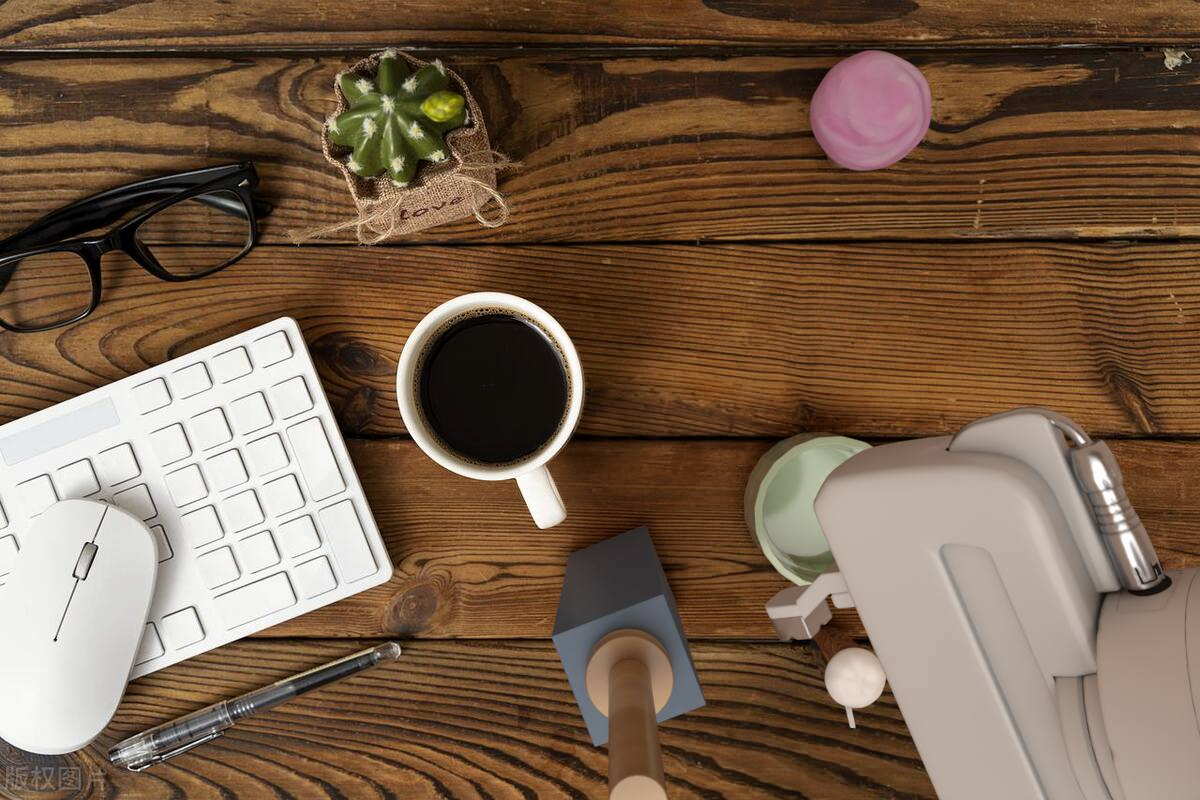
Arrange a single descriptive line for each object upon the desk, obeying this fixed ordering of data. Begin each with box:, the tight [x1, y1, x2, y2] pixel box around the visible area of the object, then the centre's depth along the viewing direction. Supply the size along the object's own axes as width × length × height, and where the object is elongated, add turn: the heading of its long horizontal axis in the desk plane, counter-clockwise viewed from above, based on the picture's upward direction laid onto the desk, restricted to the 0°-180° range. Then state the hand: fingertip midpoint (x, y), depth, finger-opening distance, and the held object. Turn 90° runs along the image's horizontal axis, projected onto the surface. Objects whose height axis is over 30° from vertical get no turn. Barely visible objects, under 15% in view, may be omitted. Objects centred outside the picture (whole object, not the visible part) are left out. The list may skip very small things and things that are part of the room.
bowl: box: [743, 431, 873, 586], centre depth 69 cm, size 12×12×6 cm
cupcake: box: [809, 49, 932, 172], centre depth 67 cm, size 9×9×10 cm
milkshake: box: [808, 625, 887, 729], centre depth 68 cm, size 5×5×10 cm
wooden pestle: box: [585, 629, 674, 800], centre depth 42 cm, size 5×5×16 cm
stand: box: [551, 524, 707, 748], centre depth 61 cm, size 7×7×23 cm
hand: (825, 721), depth 34 cm, fingers open, 8 cm apart
